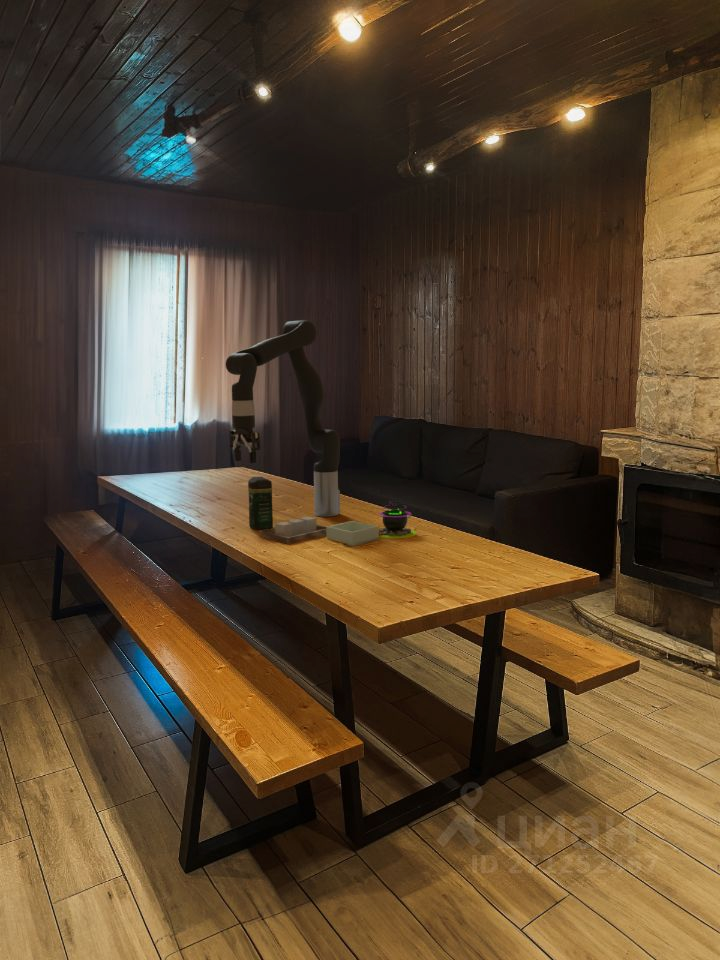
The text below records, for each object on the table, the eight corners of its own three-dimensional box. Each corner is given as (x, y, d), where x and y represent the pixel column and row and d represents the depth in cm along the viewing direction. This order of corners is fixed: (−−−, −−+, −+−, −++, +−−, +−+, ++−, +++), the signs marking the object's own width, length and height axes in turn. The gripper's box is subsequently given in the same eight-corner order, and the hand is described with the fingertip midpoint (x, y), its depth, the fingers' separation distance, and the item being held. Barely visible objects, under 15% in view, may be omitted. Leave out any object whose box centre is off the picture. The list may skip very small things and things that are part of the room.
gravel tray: (303, 528, 251) (303, 521, 251) (331, 535, 241) (331, 527, 241) (260, 538, 238) (260, 531, 237) (288, 545, 228) (287, 538, 227)
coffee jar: (275, 530, 250) (274, 478, 247) (253, 532, 247) (252, 480, 244) (268, 524, 258) (267, 474, 255) (247, 526, 255) (245, 476, 252)
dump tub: (352, 533, 243) (352, 520, 243) (378, 539, 235) (378, 526, 234) (326, 540, 235) (326, 526, 234) (352, 546, 226) (352, 532, 226)
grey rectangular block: (308, 530, 246) (308, 516, 245) (316, 532, 243) (316, 518, 243) (300, 532, 243) (299, 518, 242) (307, 534, 240) (307, 520, 240)
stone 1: (282, 536, 238) (282, 521, 237) (292, 537, 236) (291, 523, 235) (275, 538, 235) (274, 523, 234) (284, 540, 233) (284, 525, 232)
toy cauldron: (422, 530, 248) (423, 500, 246) (407, 540, 234) (407, 508, 232) (383, 527, 254) (383, 497, 252) (366, 536, 240) (366, 504, 239)
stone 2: (296, 533, 242) (296, 519, 241) (304, 535, 239) (304, 520, 239) (287, 535, 239) (287, 520, 239) (295, 537, 237) (295, 522, 236)
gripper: (265, 414, 234) (267, 462, 236) (240, 412, 244) (242, 458, 246) (246, 415, 228) (248, 465, 231) (221, 413, 238) (223, 461, 241)
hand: (245, 461), depth 239 cm, fingers open, 8 cm apart
